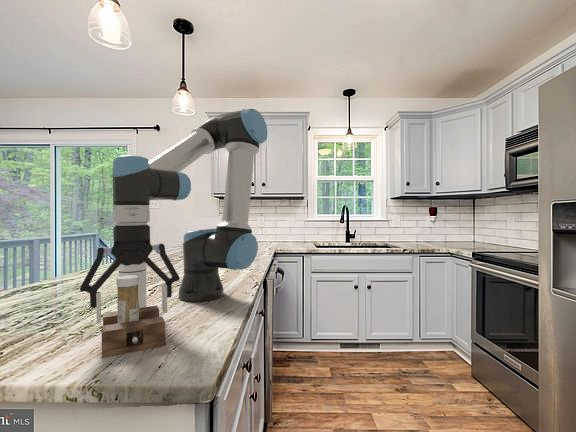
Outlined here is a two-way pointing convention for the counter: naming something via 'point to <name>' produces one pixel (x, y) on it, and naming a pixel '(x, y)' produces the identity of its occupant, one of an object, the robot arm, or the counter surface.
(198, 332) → the counter surface
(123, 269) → the cylindrical container
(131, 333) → the plunger
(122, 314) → the sprinkles bottle
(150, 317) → the socket
